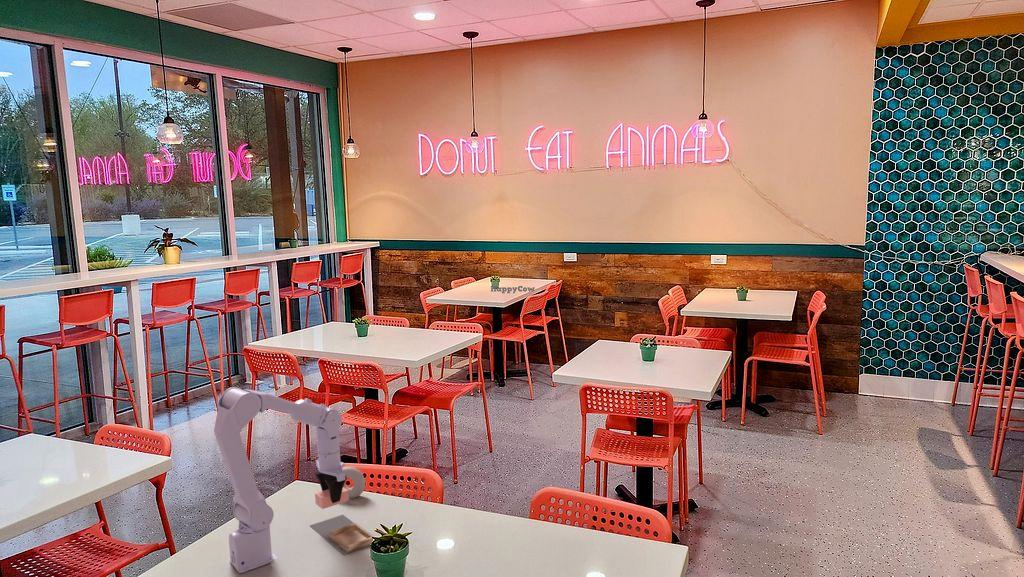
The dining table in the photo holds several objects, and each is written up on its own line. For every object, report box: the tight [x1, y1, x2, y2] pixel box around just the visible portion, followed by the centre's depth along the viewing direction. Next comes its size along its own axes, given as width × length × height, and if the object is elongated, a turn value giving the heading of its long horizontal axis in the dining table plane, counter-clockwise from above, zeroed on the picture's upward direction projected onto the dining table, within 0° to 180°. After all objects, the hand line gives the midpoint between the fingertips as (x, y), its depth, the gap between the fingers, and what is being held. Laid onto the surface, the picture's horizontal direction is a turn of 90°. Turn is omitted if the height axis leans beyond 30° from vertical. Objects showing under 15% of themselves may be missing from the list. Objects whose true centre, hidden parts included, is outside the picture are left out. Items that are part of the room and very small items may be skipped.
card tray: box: [329, 522, 376, 553], centre depth 177 cm, size 8×11×2 cm
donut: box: [342, 466, 366, 500], centre depth 204 cm, size 10×4×10 cm, turn 84°
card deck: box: [314, 487, 350, 510], centre depth 184 cm, size 8×5×3 cm, turn 129°
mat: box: [309, 514, 371, 557], centre depth 181 cm, size 10×22×1 cm, turn 39°
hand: (332, 498), depth 184 cm, fingers closed on card deck, 5 cm apart
